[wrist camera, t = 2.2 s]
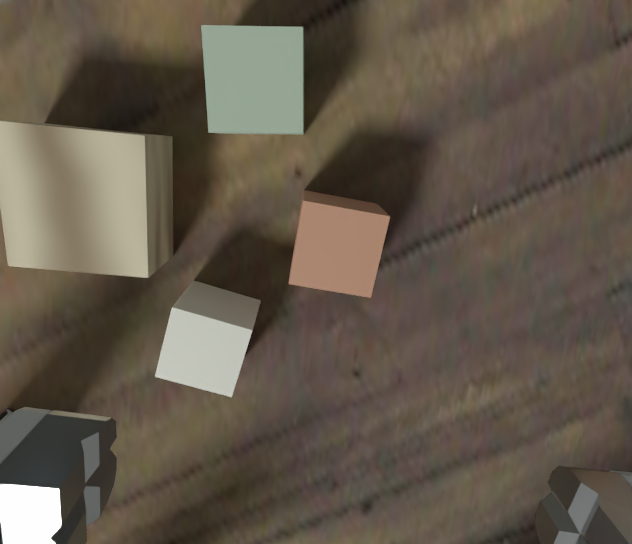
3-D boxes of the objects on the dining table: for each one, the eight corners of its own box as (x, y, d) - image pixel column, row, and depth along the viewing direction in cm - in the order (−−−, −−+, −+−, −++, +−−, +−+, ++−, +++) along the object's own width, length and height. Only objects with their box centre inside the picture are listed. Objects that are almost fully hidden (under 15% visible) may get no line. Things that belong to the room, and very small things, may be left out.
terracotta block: (376, 203, 28) (390, 216, 24) (360, 272, 30) (370, 297, 25) (303, 189, 28) (302, 200, 23) (291, 260, 29) (288, 283, 25)
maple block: (173, 136, 27) (144, 135, 22) (174, 255, 29) (148, 277, 24) (46, 123, 26) (-11, 119, 22) (57, 245, 29) (8, 265, 24)
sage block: (303, 47, 25) (303, 26, 21) (304, 134, 27) (303, 133, 22) (221, 46, 25) (201, 25, 20) (226, 133, 27) (208, 132, 22)
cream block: (261, 300, 30) (252, 330, 26) (243, 358, 32) (231, 397, 27) (193, 279, 30) (172, 307, 25) (178, 340, 31) (154, 376, 26)
